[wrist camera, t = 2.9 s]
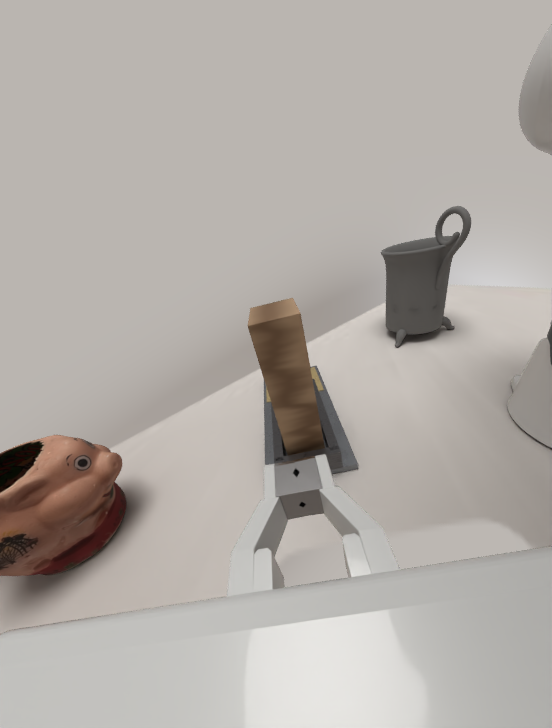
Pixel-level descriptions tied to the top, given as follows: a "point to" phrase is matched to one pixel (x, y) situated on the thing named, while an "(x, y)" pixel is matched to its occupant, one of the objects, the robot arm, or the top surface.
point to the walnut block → (287, 373)
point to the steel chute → (332, 433)
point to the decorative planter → (56, 504)
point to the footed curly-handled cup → (421, 279)
